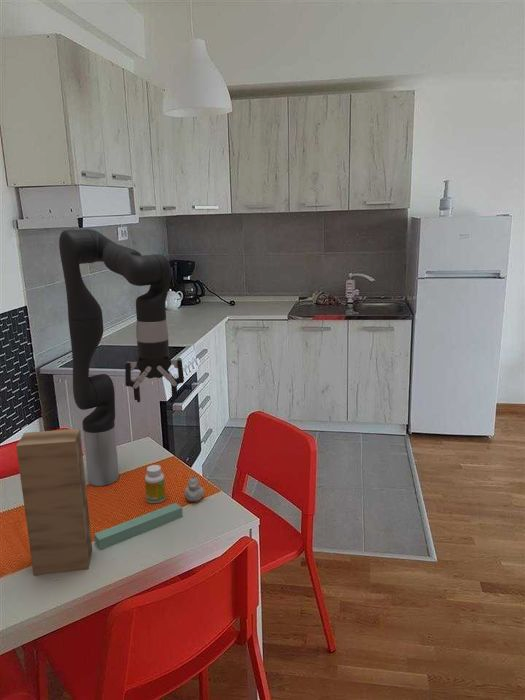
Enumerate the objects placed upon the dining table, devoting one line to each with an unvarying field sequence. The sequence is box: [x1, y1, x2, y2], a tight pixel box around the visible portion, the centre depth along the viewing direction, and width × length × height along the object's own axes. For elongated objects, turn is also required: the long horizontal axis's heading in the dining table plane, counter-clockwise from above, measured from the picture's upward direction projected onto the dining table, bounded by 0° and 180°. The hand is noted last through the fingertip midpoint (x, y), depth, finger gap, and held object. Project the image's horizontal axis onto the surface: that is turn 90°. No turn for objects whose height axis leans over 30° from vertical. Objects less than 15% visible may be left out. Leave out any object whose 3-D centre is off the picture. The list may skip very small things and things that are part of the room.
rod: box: [93, 502, 183, 551], centre depth 137 cm, size 3×23×3 cm, turn 128°
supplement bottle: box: [144, 464, 166, 504], centre depth 151 cm, size 5×5×10 cm
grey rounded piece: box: [184, 475, 205, 502], centre depth 151 cm, size 5×7×8 cm
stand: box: [16, 428, 93, 576], centre depth 121 cm, size 7×12×32 cm, turn 100°
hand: (156, 400), depth 133 cm, fingers open, 8 cm apart
